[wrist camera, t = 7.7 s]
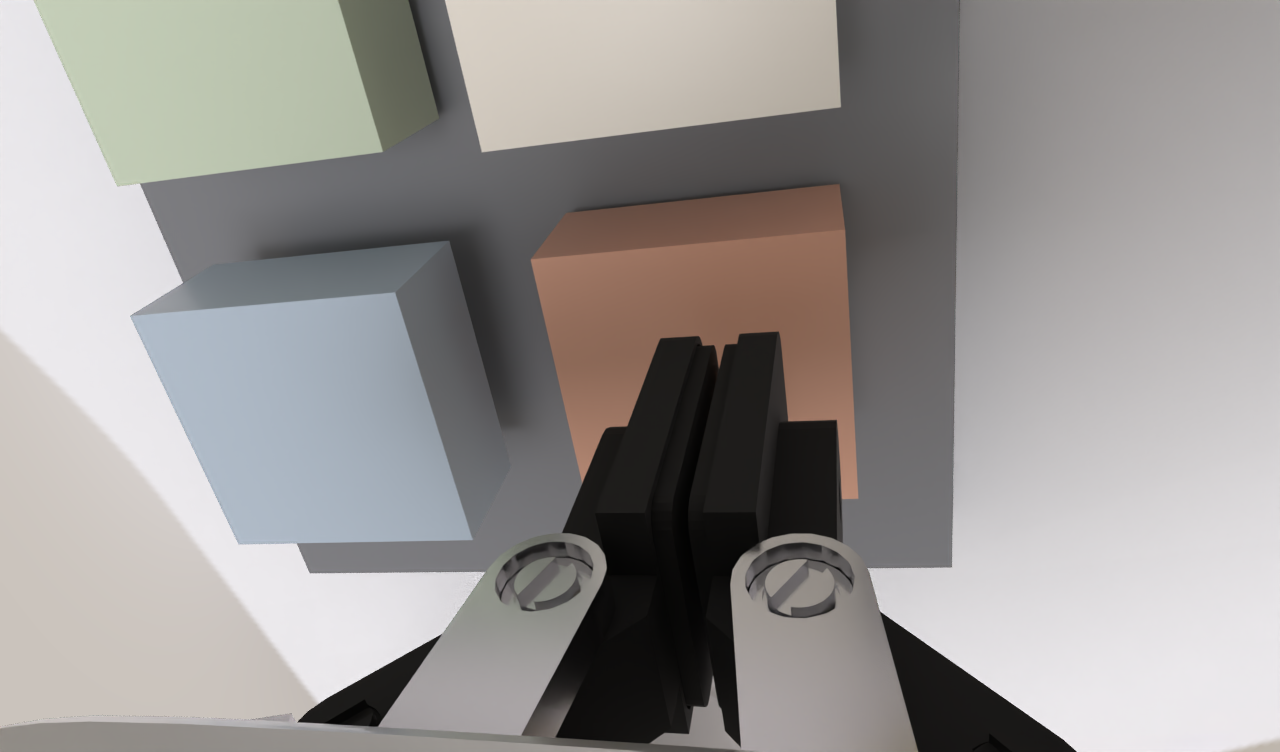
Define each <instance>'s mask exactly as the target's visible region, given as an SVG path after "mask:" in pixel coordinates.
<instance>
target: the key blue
mask: <svg viewBox="0 0 1280 752" xmlns="http://www.w3.org/2000/svg"><path fill="white" fill-rule="evenodd" d="M130 317H131V319H132V321H133V323H134V325H135V327H136V330H137V332H138V334H139V336H140V338H141V340H142V342H143V344H144V346H145V348H146V351H147V353H148V355H149V357H150V359H151V361H152V363H153V365H154V367H155V369H156V372H157V374H158V376H159V378H160V380H161V382H162V384H163V386H164V388H165V390H166V393H167V395H168V397H169V399H170V401H171V403H172V405H173V407H174V409H175V411H176V414H177V416H178V418H179V420H180V422H181V424H182V426H183V428H184V430H185V433H186V435H187V437H188V439H189V441H190V443H191V445H192V447H193V449H194V451H195V454H196V456H197V458H198V460H199V462H200V464H201V466H202V468H203V470H204V472H205V475H206V477H207V479H208V481H209V483H210V485H211V487H212V489H213V491H214V493H215V496H216V498H217V500H218V502H219V504H220V506H221V508H222V510H223V512H224V514H225V517H226V519H227V521H228V523H229V525H230V527H231V529H232V531H233V533H234V535H235V538H236V540H237V542H238V544H285V543H340V542H396V541H451V540H473V539H474V537H475V535H476V533H477V531H478V529H479V527H480V525H481V523H482V521H483V519H484V518H485V516H486V514H487V512H488V510H489V508H490V506H491V504H492V502H493V500H494V498H495V496H496V494H497V492H498V491H499V489H500V487H501V485H502V483H503V481H504V479H505V477H506V475H507V473H508V471H509V469H510V467H511V464H510V460H509V457H508V453H507V449H506V446H505V442H504V438H503V435H502V431H501V428H500V424H499V420H498V417H497V413H496V409H495V406H494V402H493V398H492V395H491V391H490V387H489V384H488V380H487V376H486V373H485V369H484V366H483V362H482V358H481V355H480V351H479V347H478V344H477V340H476V336H475V333H474V329H473V325H472V322H471V318H470V314H469V311H468V307H467V304H466V300H465V296H464V293H463V289H462V285H461V282H460V278H459V274H458V271H457V267H456V263H455V260H454V256H453V252H452V249H451V245H450V242H449V241H439V242H430V243H420V244H410V245H400V246H390V247H381V248H371V249H361V250H351V251H342V252H332V253H322V254H312V255H302V256H293V257H283V258H273V259H263V260H253V261H244V262H234V263H224V264H214V265H212V266H210V267H209V268H207V269H206V270H204V271H202V272H201V273H199V274H197V275H196V276H194V277H193V278H191V279H189V280H188V281H186V282H184V283H183V284H181V285H180V286H178V287H176V288H175V289H173V290H171V291H170V292H168V293H167V294H165V295H163V296H162V297H160V298H159V299H157V300H155V301H154V302H152V303H150V304H149V305H147V306H146V307H144V308H142V309H141V310H139V311H137V312H136V313H134V314H133V315H131V316H130Z"/></svg>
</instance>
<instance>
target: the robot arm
mask: <svg viewBox="0 0 1280 752" xmlns="http://www.w3.org/2000/svg"><path fill="white" fill-rule="evenodd" d="M713 677H714V683H715V689H716V695H717V701H718V705H719V707H720V708H721V710H722V716H723V722H724V728H725V732H726V733H727V734H728V735H729V736H730V737H731V738H732V739H733V740H734V741H735V742H736V743H737V744H738V745H739V746H740V747H741V750H734V749H719V748H705V747H690V746H674V745H659V744H649V743H651V742H652V741H654V740H655V739H657V738H658V737H659V736H661V735H662V734H664V733H675V734H689V732H690V726H691V720H692V714H693V708H694V707H707V706H708V703H709V698H710V692H711V685H712V679H713ZM0 752H1076V751H1075V750H1074V749H1073V748H1072V747H1071V746H1070V745H1068V744H1067V743H1066V742H1065V741H1064V740H1063V739H1061V738H1060V737H1059V736H1057V735H1056V734H1054V733H1053V732H1051V731H1050V730H1049V729H1047V728H1046V727H1044V726H1043V725H1041V724H1040V723H1039V722H1037V721H1036V720H1034V719H1033V718H1031V717H1030V716H1029V715H1027V714H1026V713H1024V712H1023V711H1021V710H1020V709H1019V708H1017V707H1016V706H1014V705H1013V704H1011V703H1010V702H1009V701H1007V700H1006V699H1004V698H1003V697H1001V696H1000V695H998V694H997V693H996V692H994V691H993V690H991V689H990V688H988V687H987V686H986V685H984V684H983V683H981V682H980V681H978V680H977V679H976V678H974V677H973V676H971V675H970V674H968V673H967V672H966V671H964V670H963V669H961V668H960V667H958V666H957V665H956V664H954V663H953V662H951V661H950V660H948V659H947V658H946V657H944V656H943V655H941V654H940V653H938V652H937V651H936V650H934V649H933V648H931V647H930V646H928V645H927V644H926V643H924V642H923V641H921V640H920V639H918V638H917V637H916V636H914V635H913V634H911V633H910V632H908V631H907V630H906V629H904V628H903V627H901V626H900V625H898V624H897V623H895V622H894V621H893V620H891V619H890V618H888V617H887V616H885V615H884V614H883V613H881V612H880V610H879V607H878V603H877V599H876V596H875V592H874V588H873V585H872V581H871V577H870V574H869V571H868V569H867V567H866V565H865V563H864V561H863V559H862V558H861V557H860V556H859V555H858V554H857V553H856V552H855V551H854V550H852V549H851V548H850V547H849V546H847V545H845V544H843V518H842V491H841V471H840V454H839V438H838V424H837V420H817V421H788V412H787V401H786V390H785V380H784V369H783V358H782V347H781V339H780V334H779V331H778V332H760V333H743V334H739V337H738V342H737V344H725V346H724V350H723V354H722V359H721V363H720V367H719V366H718V359H717V353H716V348H715V346H714V345H706V346H703V345H702V341H701V338H700V337H699V336H690V337H672V338H661V339H660V340H659V342H658V345H657V348H656V350H655V353H654V356H653V358H652V361H651V364H650V367H649V369H648V372H647V375H646V377H645V380H644V383H643V385H642V388H641V391H640V393H639V396H638V399H637V401H636V404H635V407H634V409H633V412H632V415H631V417H630V420H629V423H628V426H623V427H608V428H606V429H605V431H604V433H603V434H602V436H601V439H600V441H599V444H598V446H597V449H596V451H595V454H594V456H593V458H592V461H591V463H590V466H589V468H588V471H587V473H586V475H585V478H584V480H583V483H582V485H581V488H580V490H579V492H578V495H577V497H576V500H575V502H574V505H573V507H572V509H571V512H570V514H569V517H568V519H567V522H566V524H565V526H564V529H563V531H562V533H551V534H547V535H542V536H537V537H533V538H530V539H528V540H526V541H523V542H521V543H519V544H516V545H515V546H513V547H512V548H510V549H509V550H507V551H506V552H504V553H503V554H501V555H500V556H499V557H498V558H497V559H496V560H495V562H494V563H493V564H492V565H491V566H490V567H489V568H488V570H487V571H486V573H485V574H484V575H483V577H482V578H481V580H480V581H479V583H478V584H477V585H476V587H475V588H474V590H473V591H472V593H471V594H470V595H469V597H468V598H467V600H466V601H465V603H464V604H463V605H462V607H461V608H460V610H459V611H458V613H457V614H456V615H455V617H454V618H453V620H452V621H451V623H450V624H449V625H448V627H447V628H446V630H445V631H444V633H443V634H441V635H439V636H438V637H436V638H434V639H432V640H431V641H429V642H427V643H425V644H423V645H422V646H420V647H418V648H416V649H414V650H413V651H411V652H409V653H407V654H405V655H404V656H402V657H400V658H398V659H396V660H395V661H393V662H391V663H389V664H388V665H386V666H384V667H382V668H380V669H379V670H377V671H375V672H373V673H371V674H370V675H368V676H366V677H364V678H362V679H361V680H359V681H357V682H355V683H354V684H352V685H350V686H348V687H346V688H345V689H343V690H341V691H339V692H337V693H336V694H334V695H332V696H330V697H328V698H327V699H325V700H324V701H322V702H321V703H319V704H318V705H317V706H315V707H314V708H312V709H311V710H309V711H308V712H307V713H306V714H305V715H304V716H303V717H302V718H301V719H300V720H299V721H298V722H296V721H295V719H294V718H293V716H292V714H285V715H278V716H271V717H265V718H258V719H252V720H243V719H220V718H200V717H169V716H168V717H167V716H99V715H98V716H79V717H63V718H49V719H41V720H35V721H30V722H24V723H17V724H11V725H5V726H0Z"/></svg>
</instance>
